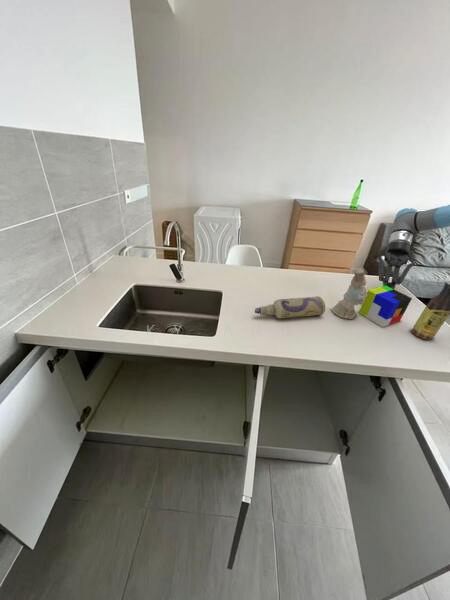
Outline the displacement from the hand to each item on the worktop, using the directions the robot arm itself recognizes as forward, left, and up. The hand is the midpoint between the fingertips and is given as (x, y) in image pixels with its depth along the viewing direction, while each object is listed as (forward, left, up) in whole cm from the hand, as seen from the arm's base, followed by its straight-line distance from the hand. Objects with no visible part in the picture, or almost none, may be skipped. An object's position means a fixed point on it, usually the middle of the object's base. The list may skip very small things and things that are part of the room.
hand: (385, 298), depth 94 cm
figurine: (+13, +11, -5) cm, 18 cm away
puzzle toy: (+1, +6, -5) cm, 8 cm away
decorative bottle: (+32, +22, -5) cm, 39 cm away
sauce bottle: (-12, +11, -5) cm, 17 cm away
